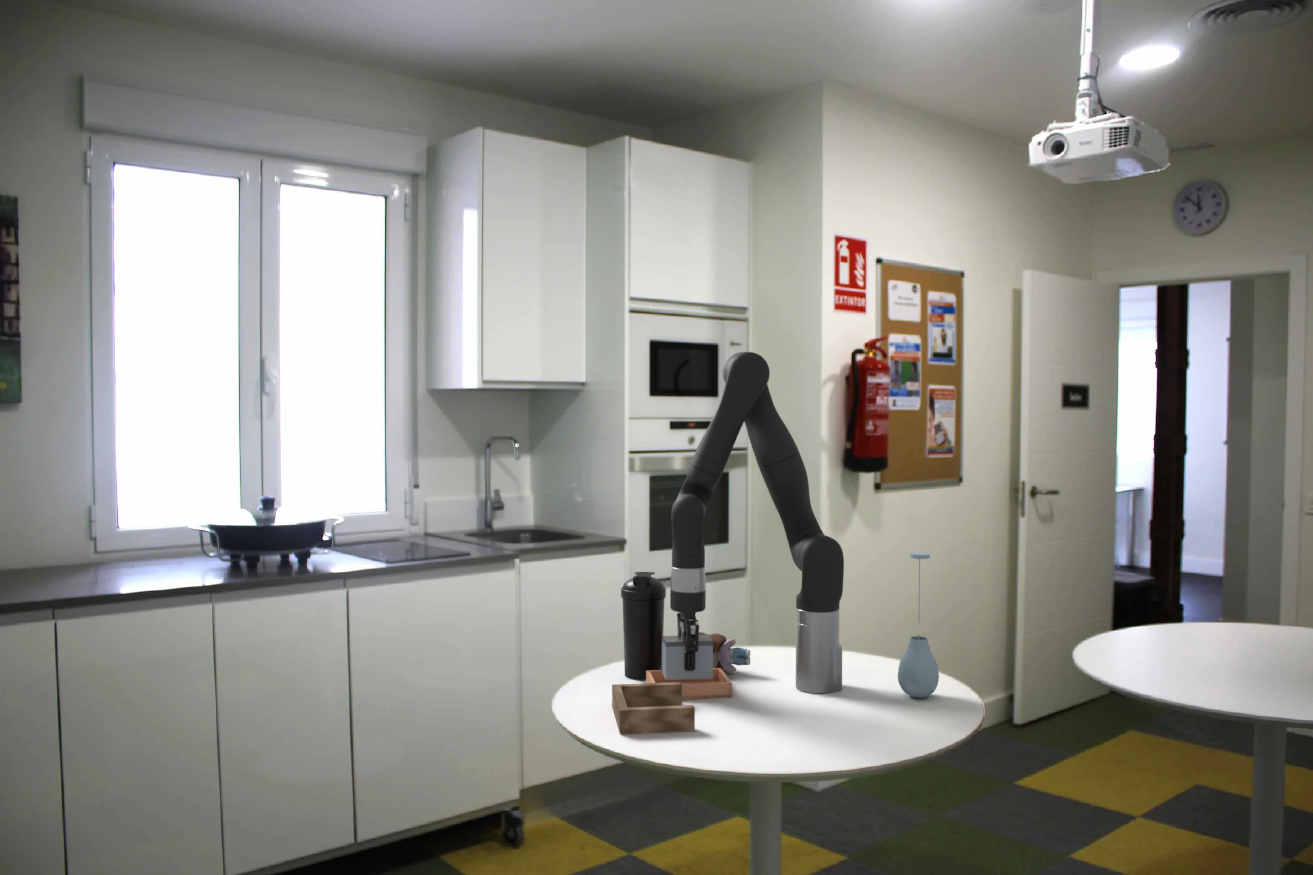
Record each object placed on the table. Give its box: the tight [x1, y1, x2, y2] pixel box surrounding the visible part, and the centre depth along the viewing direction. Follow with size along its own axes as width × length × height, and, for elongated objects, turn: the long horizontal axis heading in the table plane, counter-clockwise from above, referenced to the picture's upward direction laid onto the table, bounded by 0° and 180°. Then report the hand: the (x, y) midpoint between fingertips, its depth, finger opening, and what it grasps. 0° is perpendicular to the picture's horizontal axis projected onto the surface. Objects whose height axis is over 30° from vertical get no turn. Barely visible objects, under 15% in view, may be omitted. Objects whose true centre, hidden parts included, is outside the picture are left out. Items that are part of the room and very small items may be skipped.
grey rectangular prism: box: [662, 634, 713, 680], centre depth 207 cm, size 10×6×8 cm, turn 98°
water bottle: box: [620, 571, 667, 681], centre depth 220 cm, size 10×10×23 cm
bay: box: [611, 682, 696, 735], centre depth 189 cm, size 14×17×4 cm
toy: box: [699, 631, 751, 675], centre depth 222 cm, size 9×8×15 cm
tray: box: [645, 668, 733, 700], centre depth 207 cm, size 17×12×3 cm
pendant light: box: [897, 551, 940, 699], centre depth 203 cm, size 8×8×30 cm
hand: (687, 666), depth 207 cm, fingers closed on grey rectangular prism, 5 cm apart
